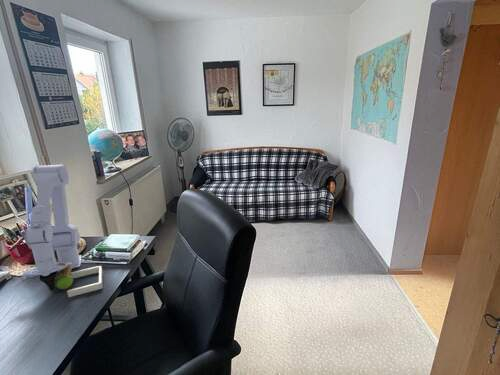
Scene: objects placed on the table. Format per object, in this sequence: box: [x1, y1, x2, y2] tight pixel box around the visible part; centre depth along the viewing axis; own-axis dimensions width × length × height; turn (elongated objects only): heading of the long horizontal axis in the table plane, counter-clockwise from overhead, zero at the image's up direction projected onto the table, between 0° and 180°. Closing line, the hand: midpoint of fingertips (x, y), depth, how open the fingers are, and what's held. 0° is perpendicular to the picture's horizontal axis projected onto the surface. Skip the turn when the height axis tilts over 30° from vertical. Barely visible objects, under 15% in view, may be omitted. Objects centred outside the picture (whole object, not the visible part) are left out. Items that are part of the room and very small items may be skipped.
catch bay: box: [66, 265, 103, 298], centre depth 104 cm, size 13×11×2 cm
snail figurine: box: [55, 261, 74, 290], centre depth 100 cm, size 5×6×12 cm
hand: (53, 289), depth 100 cm, fingers closed
